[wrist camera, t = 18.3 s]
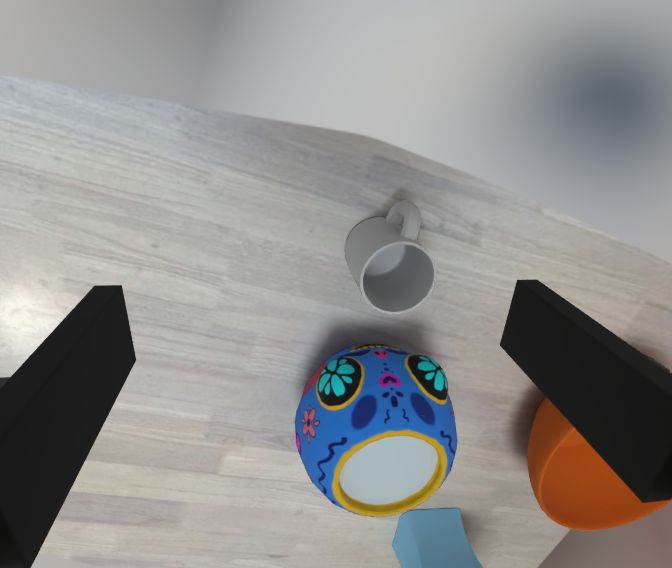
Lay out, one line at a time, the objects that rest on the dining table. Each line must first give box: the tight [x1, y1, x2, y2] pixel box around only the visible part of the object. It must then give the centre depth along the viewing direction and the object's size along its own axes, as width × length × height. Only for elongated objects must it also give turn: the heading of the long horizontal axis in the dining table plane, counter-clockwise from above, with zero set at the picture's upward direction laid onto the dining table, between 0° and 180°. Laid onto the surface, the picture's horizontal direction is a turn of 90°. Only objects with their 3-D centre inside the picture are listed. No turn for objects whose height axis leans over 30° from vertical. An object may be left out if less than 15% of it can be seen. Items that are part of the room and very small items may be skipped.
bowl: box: [527, 397, 672, 530], centre depth 55 cm, size 25×25×10 cm
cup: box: [345, 200, 437, 314], centre depth 40 cm, size 7×10×9 cm
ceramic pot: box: [295, 344, 457, 517], centre depth 45 cm, size 18×18×15 cm
